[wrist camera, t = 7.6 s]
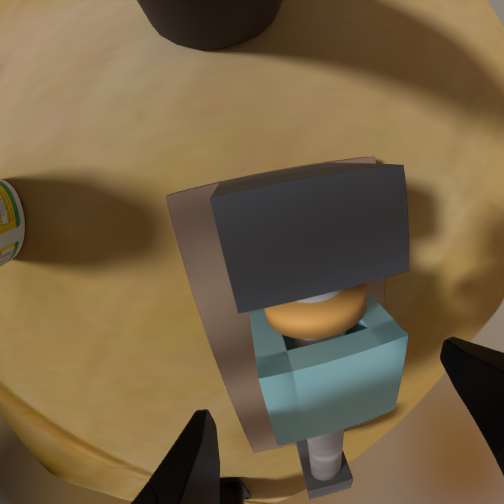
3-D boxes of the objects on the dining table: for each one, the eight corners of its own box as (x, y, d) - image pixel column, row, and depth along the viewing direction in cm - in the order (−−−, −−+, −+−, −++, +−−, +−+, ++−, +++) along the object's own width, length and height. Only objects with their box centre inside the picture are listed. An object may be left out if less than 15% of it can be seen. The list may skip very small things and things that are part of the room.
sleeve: (354, 345, 13) (394, 409, 9) (264, 369, 13) (277, 445, 9) (352, 277, 12) (408, 334, 7) (247, 302, 12) (258, 378, 7)
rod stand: (367, 413, 19) (397, 475, 12) (252, 443, 19) (260, 513, 12) (365, 156, 13) (462, 160, 6) (170, 193, 13) (112, 224, 6)
